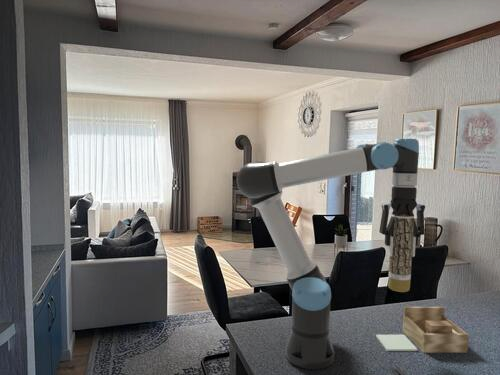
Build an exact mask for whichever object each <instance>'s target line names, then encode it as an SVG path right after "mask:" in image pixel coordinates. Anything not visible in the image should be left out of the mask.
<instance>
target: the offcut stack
mask: <svg viewBox="0 0 500 375" xmlns="http://www.w3.org/2000/svg"><path fill="white" fill-rule="evenodd" d="M452 328H453V326H452V325H451V324H450V323H448V322H447V321H426V324H425V329H426V332H425V333H457V332H456V331H454V330H453V329H452Z"/></svg>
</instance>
